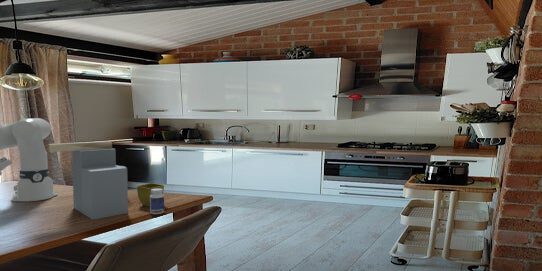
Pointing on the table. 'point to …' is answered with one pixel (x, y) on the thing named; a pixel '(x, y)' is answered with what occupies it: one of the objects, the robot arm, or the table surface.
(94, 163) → the stepped shelf
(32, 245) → the table surface
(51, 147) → the wooden rod
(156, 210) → the pill bottle
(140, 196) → the flower pot
